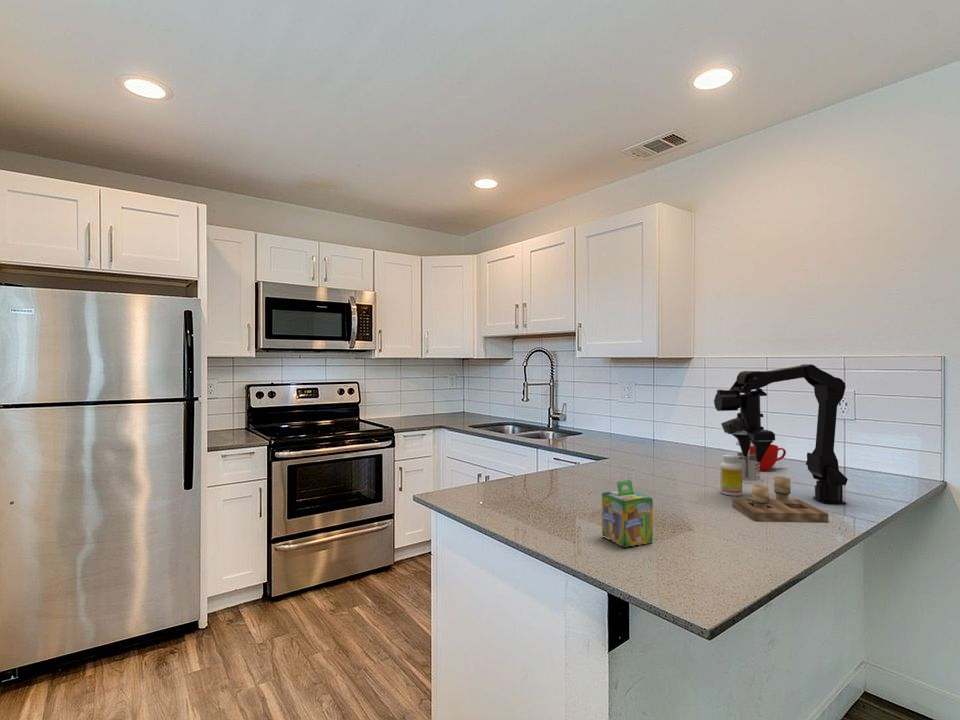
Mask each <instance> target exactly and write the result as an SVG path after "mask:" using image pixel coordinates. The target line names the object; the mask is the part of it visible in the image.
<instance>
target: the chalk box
mask: <svg viewBox="0 0 960 720" xmlns="http://www.w3.org/2000/svg"><path fill="white" fill-rule="evenodd" d="M616 483H617V484H616V486H617V490H612V491H611V490H610V491H605V492H602V493H601V497H602V498H601V499H602V500H601V504H602V507H601V513H602V514H601V516H602V517H601V518H602V520H601V521H602V522H601V523H602V524H601V525H602V526H601V527H602V528H601V531H602V532H601V533H602V535H603V536H605V537H607V538H609V539H610V540H612V541H614V542H616V543H618V544H620V545H622V546H624V547H628V546H633V545H639V546H642V545H641V544H645V545H648V544H647V543H652V544H653V521H654V520H653V516H654V515H653V508H654V507H653V498H652V497H651V496H647V495H645V494H643V493H641V492H639V491H638V492H636V491H634V486H633V482H632V480H631V479H628V480H627V479H626V480H619V481H617V482H616ZM624 486H627V487H628V489H623V487H624ZM602 535H601V536H602ZM612 541H611V542H612ZM614 542H613V543H614ZM616 543H615V544H616ZM618 544H617V545H618ZM620 545H619V546H620ZM622 546H621V547H622ZM624 547H623V548H624ZM633 547H634V546H633ZM628 548H629V547H628Z"/></svg>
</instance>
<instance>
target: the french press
mask: <svg viewBox="0 0 960 720" xmlns="http://www.w3.org/2000/svg"><path fill="white" fill-rule="evenodd" d="M735 446H739V447H740V445H739V442H738V441H736V442H735ZM750 447H754V445H753V444H752V443H751V445H750ZM749 452H750V449H749ZM749 452H748V455H747V456H743V454H742V452H738V453H736V456H739V460H738V463H739V464H740V465H741V466H742V483H744V484H745V483H746V484H762V483H763V480H762V479H761V476H760V473H761V471H759V470H760V468H759V467H760V465H757V466H756V464H759V463H760V462H757V461H756V458H754V457H756V456H755V454H753V453H749ZM755 468H758V469H755Z"/></svg>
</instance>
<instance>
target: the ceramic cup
mask: <svg viewBox="0 0 960 720" xmlns="http://www.w3.org/2000/svg"><path fill="white" fill-rule="evenodd" d="M749 449H750V452H749V453H753V454H755V450H754V447H750V448H749ZM781 450H782V455H781V456H779V457H778V455H779V451H781ZM786 455H787V451H786V449H785V448H784V447H779V446H778V445H776V444H773V443H771V444H770V446H769V447H768V449H767V451H766V453H765V455H764V456H763V458H762V460H761V462H760V463H759V464H756V466H757V465H760V467H759V468H760V470H759V471H760V472H769V471H770V470H771V469H772V468H773V467H774V466H775V464H776V462H778V461H781V460H782V459H784V458H785V457H786ZM754 458H756V457H754ZM755 469H758V468H755ZM768 470H769V471H768ZM759 471H758V472H759Z"/></svg>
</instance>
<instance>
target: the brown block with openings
mask: <svg viewBox="0 0 960 720" xmlns="http://www.w3.org/2000/svg"><path fill="white" fill-rule="evenodd" d="M731 505H732V506H731V507H732V508H734V509H736V510H737V511H738V512H740V513H742V514H743V515H745V516H746V517H748V518H749V519H751V520H752V521H754V522H783V523H784V522H788V523H789V522H791V523H792V522H794V523H795V522H797V523H799V522H800V523H829V521H830V520H829V519H830V518H829V513H828V512H826V511H823V510H822V509H820V508H818V507H816V506H813V505H812V504H810V503H808V502H806V501H803V500H801V499H792V498H789V499H775V498H770V487H769V486H767V485H764V484H752V485H751V498H732V503H731Z"/></svg>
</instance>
